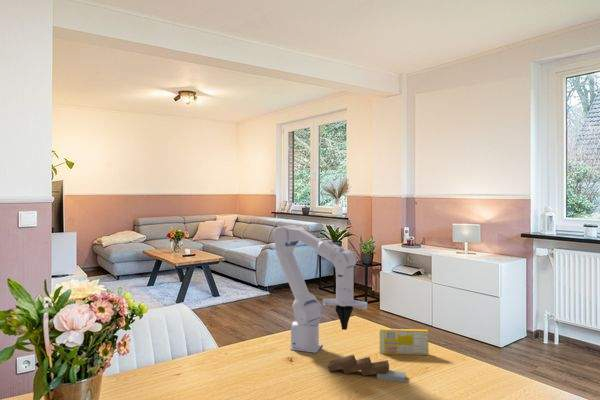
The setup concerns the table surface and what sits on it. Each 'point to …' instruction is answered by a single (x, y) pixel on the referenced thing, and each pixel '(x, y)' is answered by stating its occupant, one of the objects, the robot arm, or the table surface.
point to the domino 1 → (341, 363)
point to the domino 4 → (392, 376)
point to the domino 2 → (358, 365)
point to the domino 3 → (376, 368)
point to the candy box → (403, 341)
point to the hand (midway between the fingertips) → (344, 328)
